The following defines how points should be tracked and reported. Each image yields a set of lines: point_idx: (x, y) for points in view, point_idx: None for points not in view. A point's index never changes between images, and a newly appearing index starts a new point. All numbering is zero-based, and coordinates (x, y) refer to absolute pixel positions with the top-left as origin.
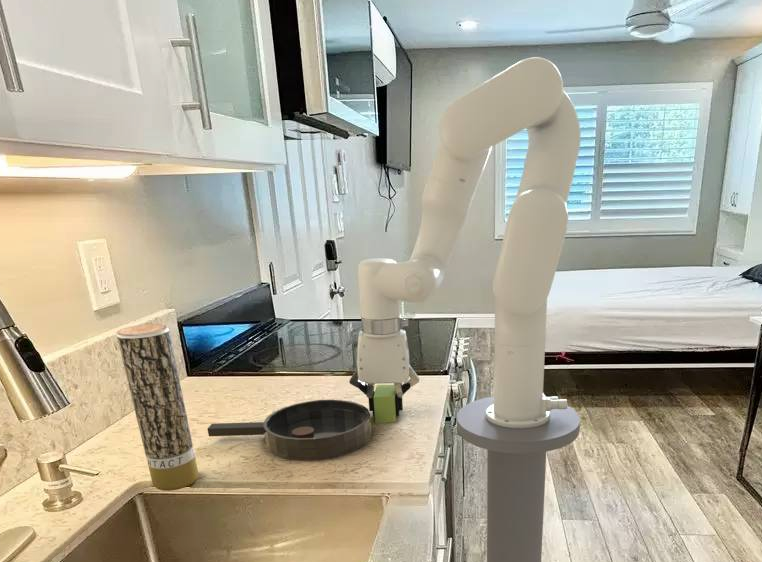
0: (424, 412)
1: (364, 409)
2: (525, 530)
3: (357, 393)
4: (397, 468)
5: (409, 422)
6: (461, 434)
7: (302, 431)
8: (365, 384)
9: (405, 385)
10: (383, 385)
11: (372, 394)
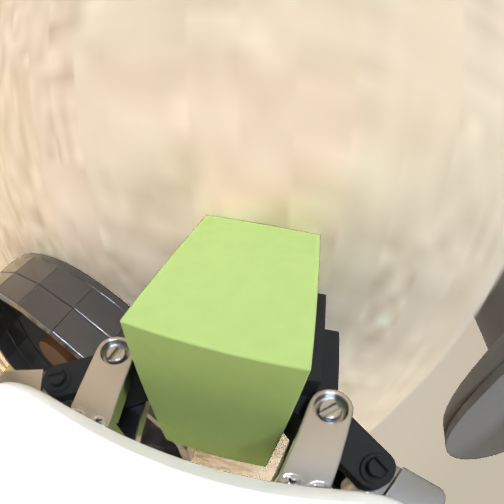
0: (438, 311)
1: (157, 424)
2: None
3: None
4: (266, 472)
5: (340, 378)
6: (449, 410)
7: (58, 363)
8: (73, 397)
9: (341, 489)
10: (181, 352)
11: (148, 407)
